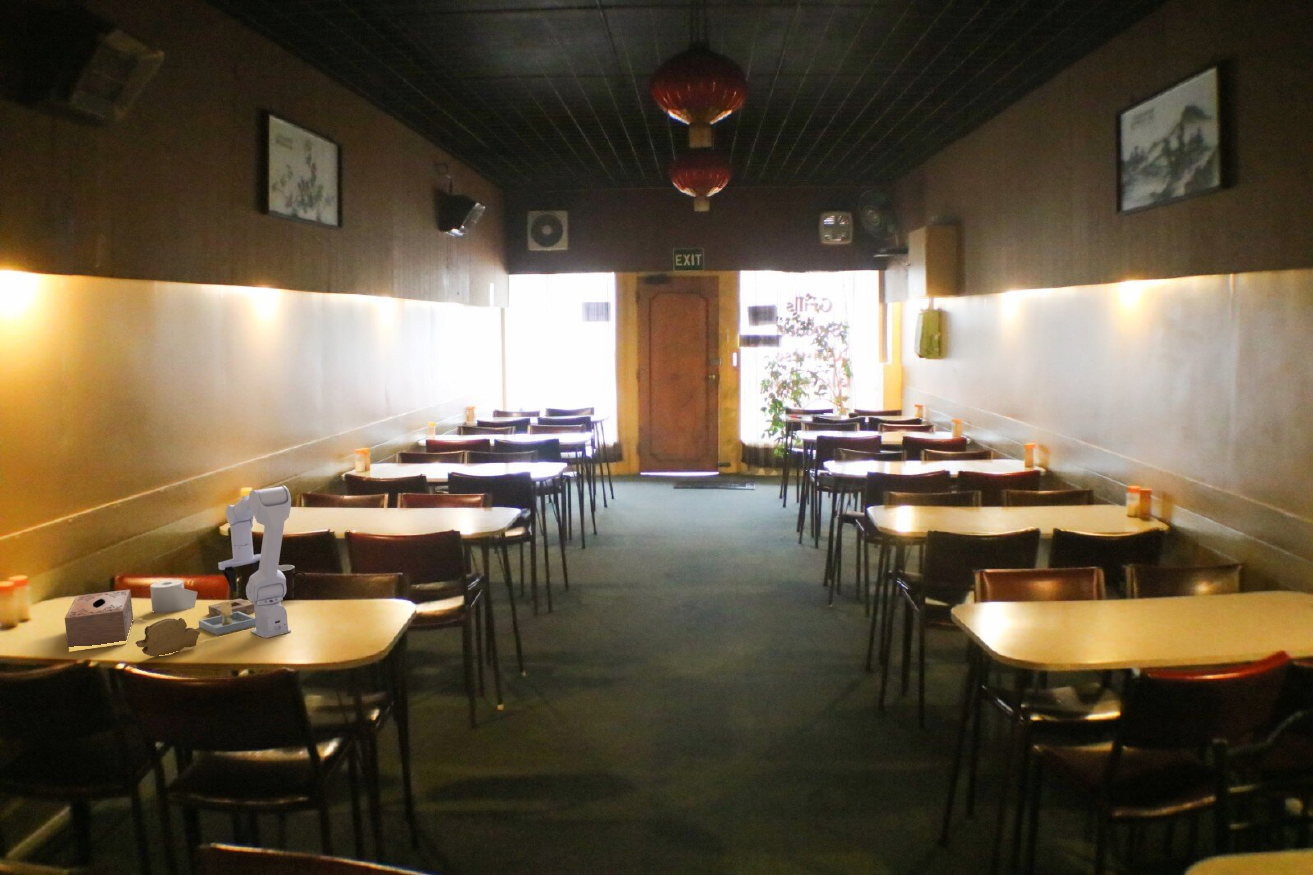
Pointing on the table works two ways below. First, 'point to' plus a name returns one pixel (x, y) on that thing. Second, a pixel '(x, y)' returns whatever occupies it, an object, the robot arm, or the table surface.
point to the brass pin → (226, 613)
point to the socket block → (233, 607)
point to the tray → (238, 623)
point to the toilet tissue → (171, 596)
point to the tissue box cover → (99, 618)
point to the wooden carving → (168, 637)
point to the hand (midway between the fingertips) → (246, 588)
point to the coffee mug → (290, 579)
